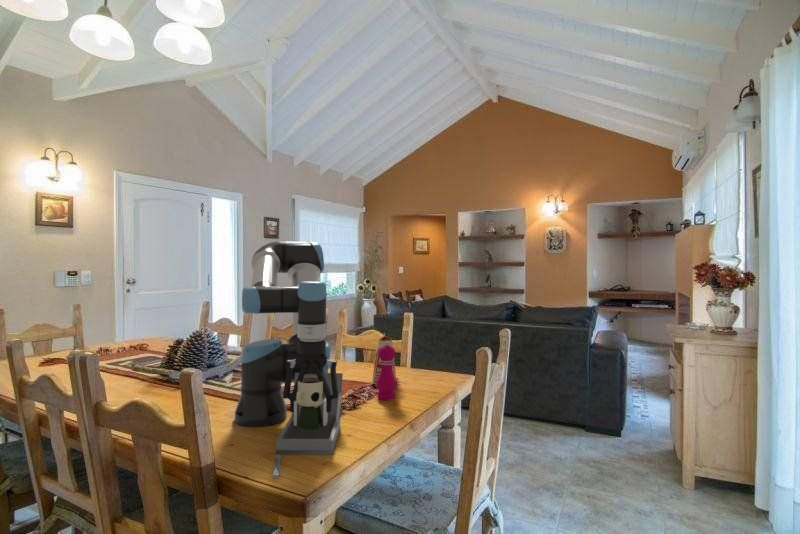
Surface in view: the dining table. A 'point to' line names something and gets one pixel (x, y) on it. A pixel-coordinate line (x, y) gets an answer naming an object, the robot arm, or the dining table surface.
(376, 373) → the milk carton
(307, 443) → the case
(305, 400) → the character mug
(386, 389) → the pepper mill
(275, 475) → the rod
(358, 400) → the dining table surface
